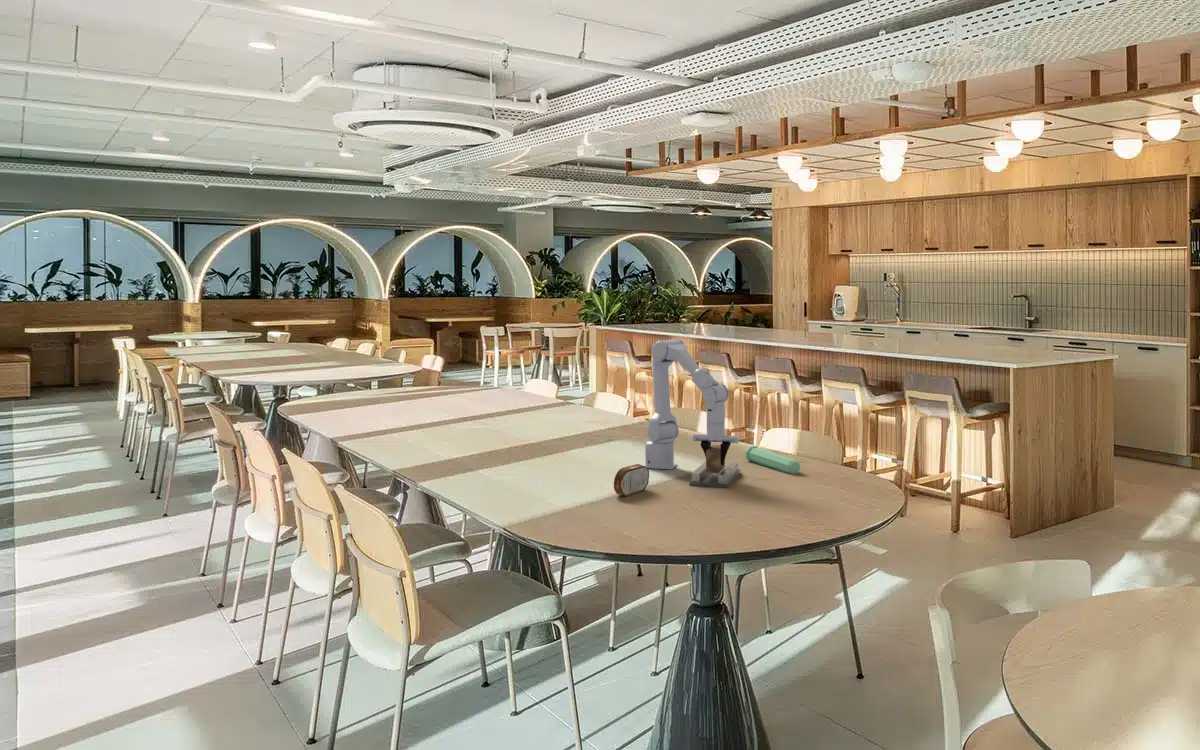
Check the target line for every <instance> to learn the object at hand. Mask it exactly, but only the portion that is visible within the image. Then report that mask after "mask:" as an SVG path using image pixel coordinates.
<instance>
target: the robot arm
mask: <svg viewBox="0 0 1200 750" xmlns="http://www.w3.org/2000/svg"><path fill="white" fill-rule="evenodd" d="M651 351H652V353H651V354H652V361H651V368H652V369H651V370H652V384H653V385H652V386H653V388H652V389H653V402H654V403H653V404H654V406H653V407H654V414H653V415H651V417H650V418H649V420H648V427H647V435H648V438H649V439H650V440H647V442H646V444H645V453H644V454H645V455H644V456H645V466H646V467H647V468H648V469H656V470H657V469H658V470H673V469H674V468H675V467H676V466H678V463H675V459H674V458H675V456H674V455H675V451H674V449H675V446H674V445H675V441H676V438H677V437H678V436H679V433H680V431H679V426H678V423H677V417H676V416H675V415H674V414H673V413H672V410H671V395H670V377H669V376H670V375H669V374H670V373H669V367H670V366H671V365H672V364H673V363H674V362H675V361H676V362H678V363H679V364H680V365H681V366H682V367H683V368H684V369H685V370H686V371H688V373H689V375H691V381H692V382H693V383H694V385H695V386H696V387H697V388H698V389H699V390H700V392H702V399H703V401H704V403H705V404H704V405H705V409H706V434H693V435H692V442H700V447H701V449H702V451H703V453H704V456H705V457H706V450H708V449H709V448H710V447H711V446H712V443H720V444H719V445H720V446H721V465H724V462H725V463H726V456H727V453H728V451H729V449H730V446H731V444H738V443H739V442H740V441H739V436H734V435H726V434H725V426H726V424H725V421H726V420H725V419H726V418H725V417H726V416H725V415H726V414H725V412H726V411H725V410H726V406H725V405H726V404H725V403H726V402H727V401H728V398H729V394H730V393H729V390H728V387H727V386H726V385H725V384H723V383H720V382H718V381H717V380H716V379H715V378H714V377H713V376H712V375H711V374H710V371H709V370H708V369H705V368H701V367H700V366H699V365H698V364H697V362H696V361H695V359H694V358H693V357H692V355H691V354H690V352H689V351H688V346H687V344H686V343H684V341H683V340H682V339H679V338H677V339H669V340H657V341H655V343H654V344H653V346H652V347H651Z"/></svg>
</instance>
